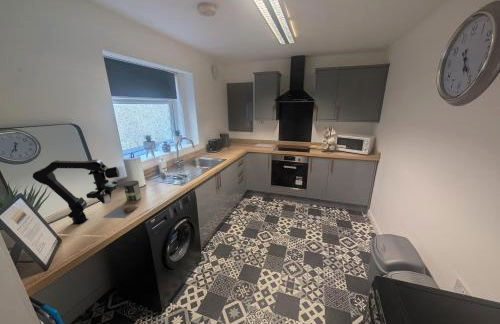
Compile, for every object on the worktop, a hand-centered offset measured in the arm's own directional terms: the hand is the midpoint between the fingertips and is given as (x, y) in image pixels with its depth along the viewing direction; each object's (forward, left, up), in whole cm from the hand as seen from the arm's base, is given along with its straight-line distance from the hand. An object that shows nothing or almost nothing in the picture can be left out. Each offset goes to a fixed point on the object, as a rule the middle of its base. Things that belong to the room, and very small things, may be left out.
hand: (106, 201), depth 124 cm
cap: (0, 0, -1) cm, 1 cm away
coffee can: (+1, +23, -11) cm, 25 cm away
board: (+5, +4, -11) cm, 12 cm away
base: (+9, +7, -10) cm, 15 cm away
